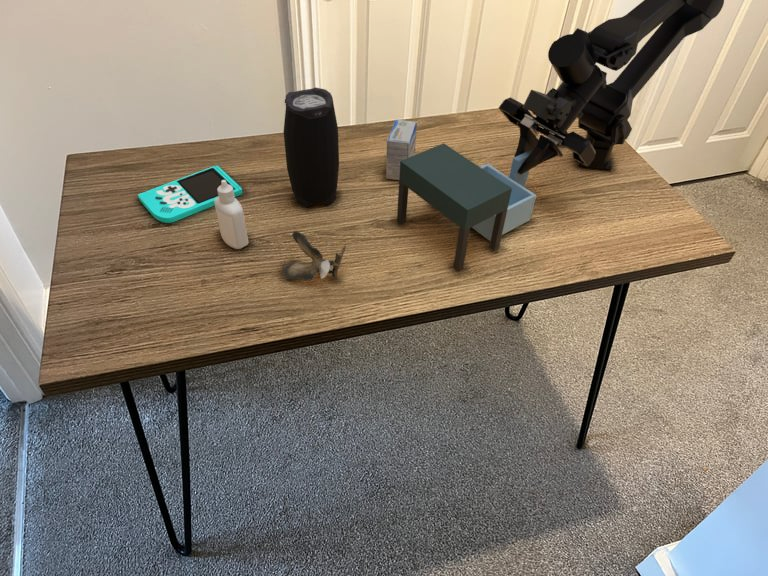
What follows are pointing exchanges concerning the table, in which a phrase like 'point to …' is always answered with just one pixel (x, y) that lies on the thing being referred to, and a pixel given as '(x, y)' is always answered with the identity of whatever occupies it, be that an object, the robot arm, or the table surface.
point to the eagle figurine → (317, 265)
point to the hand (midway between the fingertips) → (515, 171)
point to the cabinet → (454, 193)
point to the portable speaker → (311, 146)
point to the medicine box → (400, 146)
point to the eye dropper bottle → (230, 217)
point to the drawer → (511, 198)
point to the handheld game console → (186, 195)
